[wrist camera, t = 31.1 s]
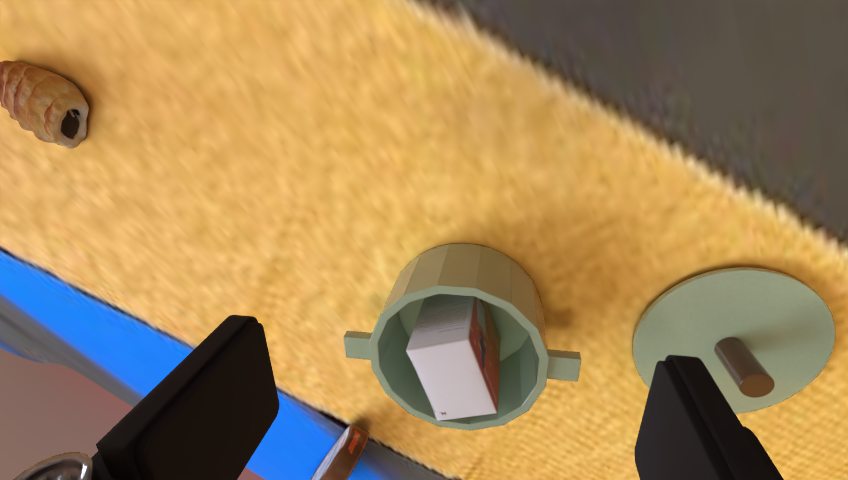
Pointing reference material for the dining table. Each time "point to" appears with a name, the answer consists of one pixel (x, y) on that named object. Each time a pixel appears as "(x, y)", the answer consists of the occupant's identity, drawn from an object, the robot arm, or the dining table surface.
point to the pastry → (43, 103)
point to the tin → (342, 455)
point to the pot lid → (740, 333)
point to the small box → (457, 355)
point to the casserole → (512, 316)
